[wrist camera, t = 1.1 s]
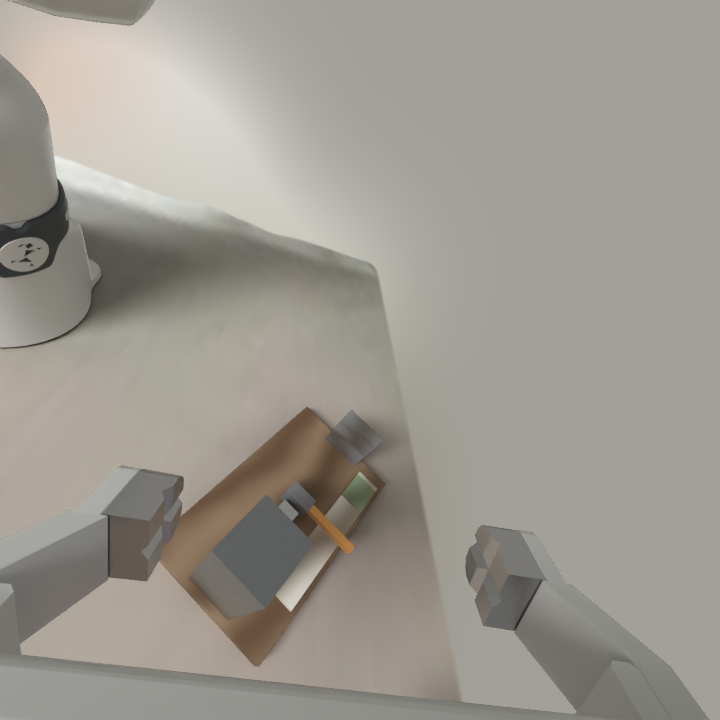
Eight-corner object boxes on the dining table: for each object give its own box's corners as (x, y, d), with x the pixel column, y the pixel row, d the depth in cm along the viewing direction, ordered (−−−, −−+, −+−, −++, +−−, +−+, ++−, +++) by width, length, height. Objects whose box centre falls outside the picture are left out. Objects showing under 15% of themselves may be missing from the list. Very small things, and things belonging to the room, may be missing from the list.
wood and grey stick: (279, 497, 40) (286, 490, 38) (288, 487, 41) (296, 480, 39) (339, 559, 39) (349, 555, 37) (347, 547, 40) (357, 543, 38)
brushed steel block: (188, 577, 32) (211, 550, 24) (269, 494, 39) (309, 451, 31) (227, 620, 32) (265, 608, 23) (302, 528, 39) (351, 494, 30)
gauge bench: (147, 548, 34) (152, 528, 28) (303, 411, 49) (324, 383, 44) (254, 666, 32) (280, 668, 27) (379, 487, 48) (410, 467, 43)
